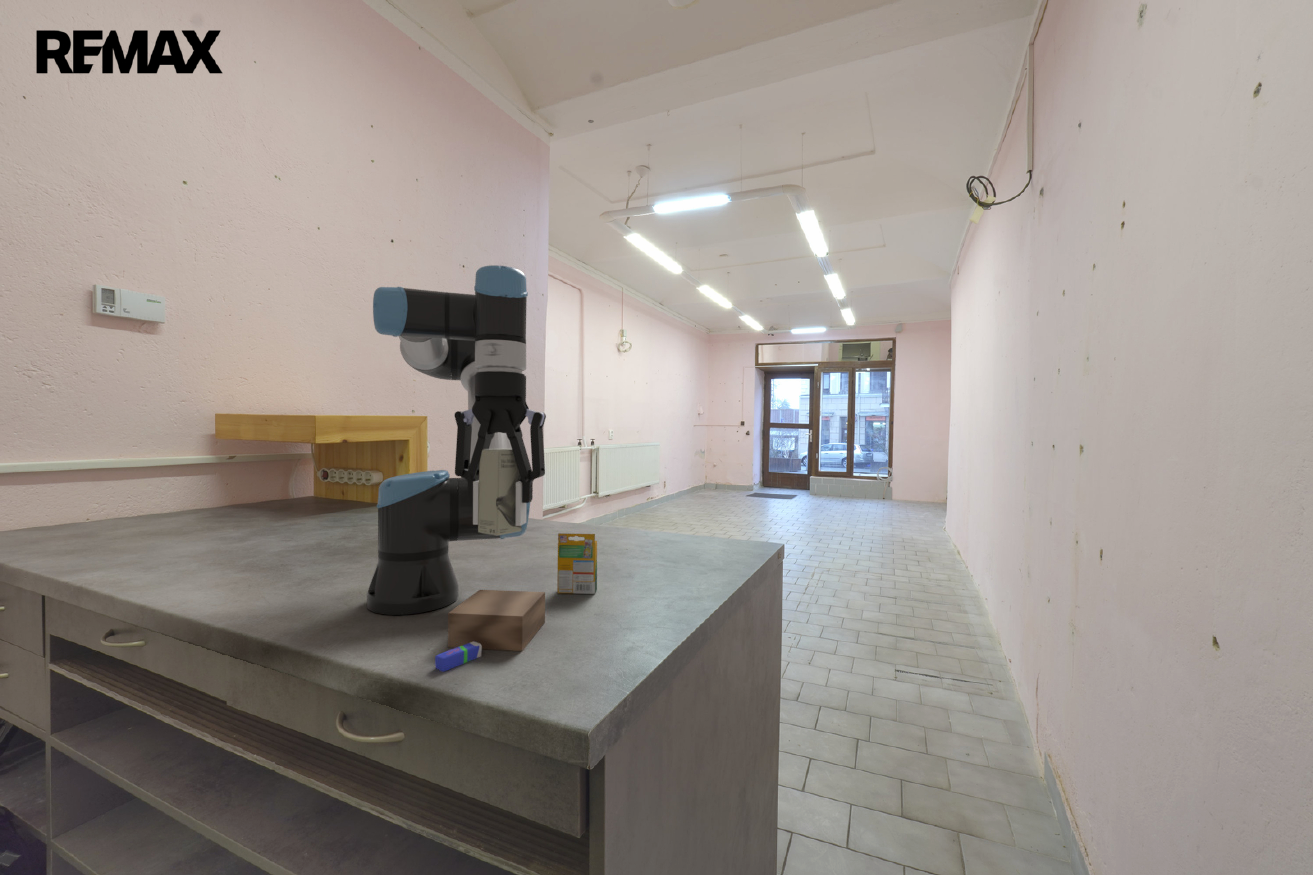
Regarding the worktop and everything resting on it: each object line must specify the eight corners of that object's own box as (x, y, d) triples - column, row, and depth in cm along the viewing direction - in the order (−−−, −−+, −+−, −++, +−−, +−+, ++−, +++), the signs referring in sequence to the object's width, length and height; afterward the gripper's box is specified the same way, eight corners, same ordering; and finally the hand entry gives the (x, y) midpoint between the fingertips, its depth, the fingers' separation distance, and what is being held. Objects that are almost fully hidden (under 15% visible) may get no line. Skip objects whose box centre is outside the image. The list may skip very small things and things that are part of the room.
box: (497, 537, 79) (497, 449, 78) (476, 533, 81) (477, 448, 81) (523, 531, 83) (524, 448, 83) (503, 528, 85) (504, 447, 85)
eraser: (482, 657, 75) (482, 643, 74) (443, 674, 70) (443, 658, 70) (473, 654, 76) (473, 640, 76) (434, 669, 71) (434, 654, 71)
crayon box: (597, 589, 105) (597, 530, 105) (595, 594, 102) (595, 534, 102) (560, 588, 105) (560, 530, 105) (557, 593, 102) (557, 533, 102)
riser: (448, 647, 77) (448, 613, 77) (479, 619, 88) (479, 589, 88) (522, 651, 76) (522, 616, 76) (544, 622, 87) (545, 592, 87)
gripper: (428, 369, 78) (428, 526, 79) (554, 369, 77) (553, 530, 77) (452, 373, 86) (451, 517, 86) (568, 374, 84) (566, 520, 85)
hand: (500, 523), depth 82 cm, fingers closed on box, 6 cm apart
